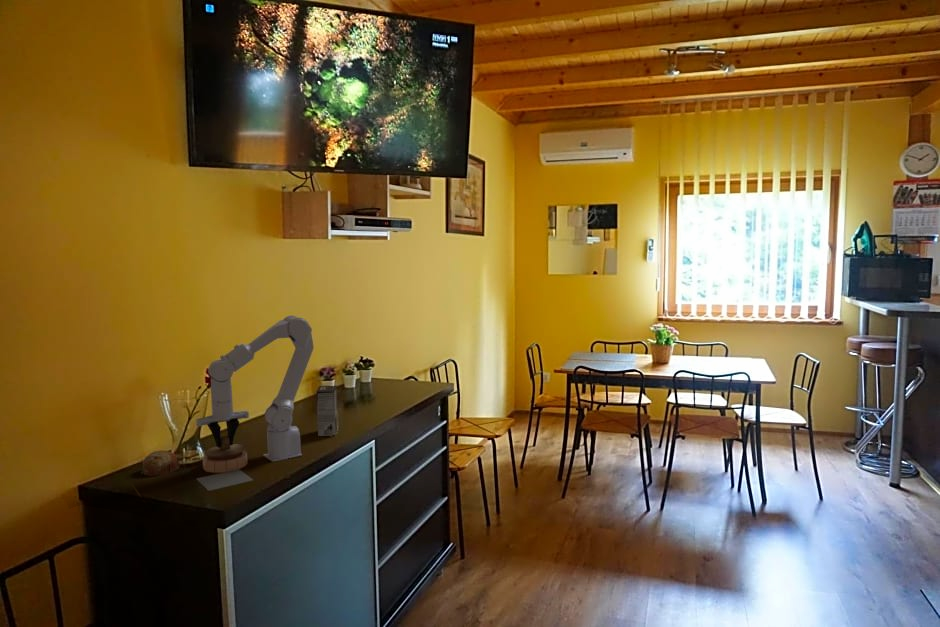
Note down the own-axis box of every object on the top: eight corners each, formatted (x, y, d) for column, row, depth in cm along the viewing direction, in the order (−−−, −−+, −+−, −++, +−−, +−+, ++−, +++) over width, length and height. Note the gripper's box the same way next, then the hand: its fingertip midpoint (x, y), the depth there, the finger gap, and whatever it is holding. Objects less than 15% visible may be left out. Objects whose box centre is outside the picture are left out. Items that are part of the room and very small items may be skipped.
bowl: (239, 457, 196) (238, 446, 195) (252, 467, 186) (252, 455, 186) (198, 465, 188) (198, 454, 188) (210, 476, 179) (210, 464, 178)
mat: (239, 470, 184) (239, 468, 184) (253, 481, 174) (253, 480, 174) (196, 479, 176) (195, 478, 176) (208, 492, 167) (208, 490, 167)
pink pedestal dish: (238, 444, 194) (237, 430, 194) (249, 451, 185) (248, 436, 185) (201, 451, 188) (200, 437, 187) (210, 459, 179) (209, 443, 179)
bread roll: (144, 481, 186) (130, 460, 183) (176, 459, 192) (162, 439, 189) (156, 490, 179) (141, 468, 176) (188, 467, 185) (174, 445, 182)
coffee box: (320, 430, 225) (318, 385, 223) (338, 429, 226) (337, 384, 224) (317, 437, 216) (315, 391, 214) (336, 436, 217) (334, 390, 215)
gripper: (200, 407, 178) (202, 453, 179) (251, 399, 187) (253, 443, 188) (193, 402, 183) (196, 448, 185) (243, 395, 192) (245, 438, 193)
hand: (224, 445), depth 187 cm, fingers closed on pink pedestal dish, 3 cm apart
